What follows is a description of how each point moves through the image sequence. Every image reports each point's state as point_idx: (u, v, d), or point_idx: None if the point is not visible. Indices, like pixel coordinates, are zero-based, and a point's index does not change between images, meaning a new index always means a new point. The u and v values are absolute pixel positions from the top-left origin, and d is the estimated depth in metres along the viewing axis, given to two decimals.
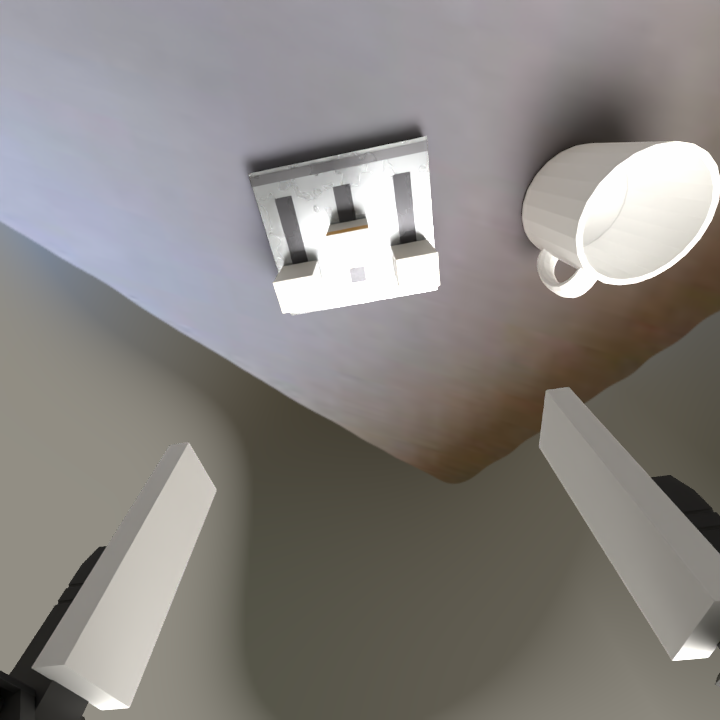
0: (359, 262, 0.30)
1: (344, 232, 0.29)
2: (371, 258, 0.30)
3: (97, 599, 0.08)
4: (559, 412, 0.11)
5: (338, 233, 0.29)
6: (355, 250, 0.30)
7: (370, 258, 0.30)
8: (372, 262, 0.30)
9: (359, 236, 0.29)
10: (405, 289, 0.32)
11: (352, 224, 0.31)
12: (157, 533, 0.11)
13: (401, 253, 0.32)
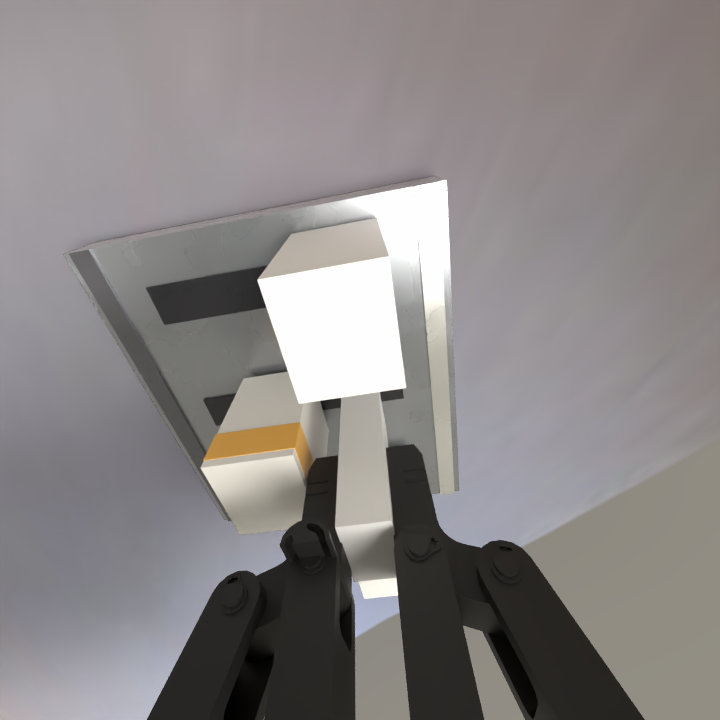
0: (293, 483, 0.11)
1: None
2: (278, 460, 0.11)
3: (358, 484, 0.10)
4: (360, 396, 0.14)
5: None
6: (263, 490, 0.12)
7: (277, 461, 0.11)
8: (289, 459, 0.11)
9: (226, 483, 0.11)
10: (397, 373, 0.09)
11: None
12: None
13: None
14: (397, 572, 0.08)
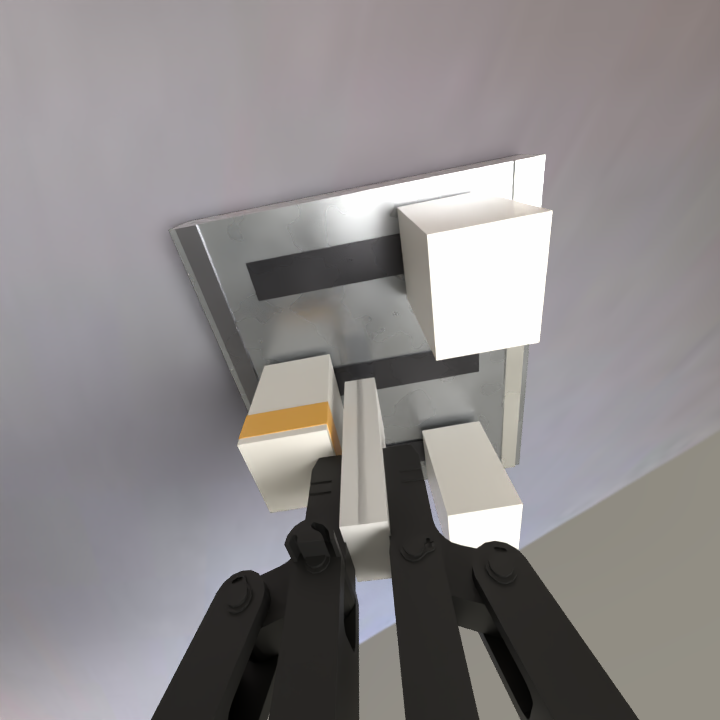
0: None
1: None
2: (312, 435, 0.12)
3: (362, 484, 0.10)
4: (357, 397, 0.14)
5: None
6: (296, 466, 0.12)
7: (311, 437, 0.12)
8: (322, 434, 0.11)
9: (260, 460, 0.12)
10: (534, 327, 0.10)
11: None
12: None
13: (422, 316, 0.11)
14: (392, 573, 0.08)
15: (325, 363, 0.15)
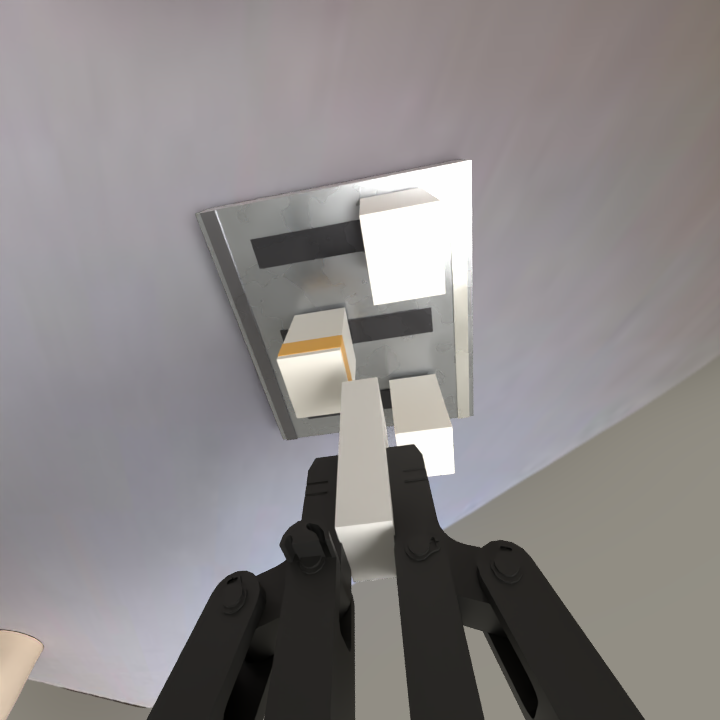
0: (338, 374, 0.17)
1: None
2: (329, 354, 0.16)
3: (358, 484, 0.10)
4: (360, 396, 0.14)
5: None
6: (317, 379, 0.17)
7: (329, 355, 0.16)
8: (337, 353, 0.16)
9: (292, 373, 0.17)
10: (440, 282, 0.14)
11: None
12: None
13: None
14: (397, 572, 0.08)
15: (341, 313, 0.20)
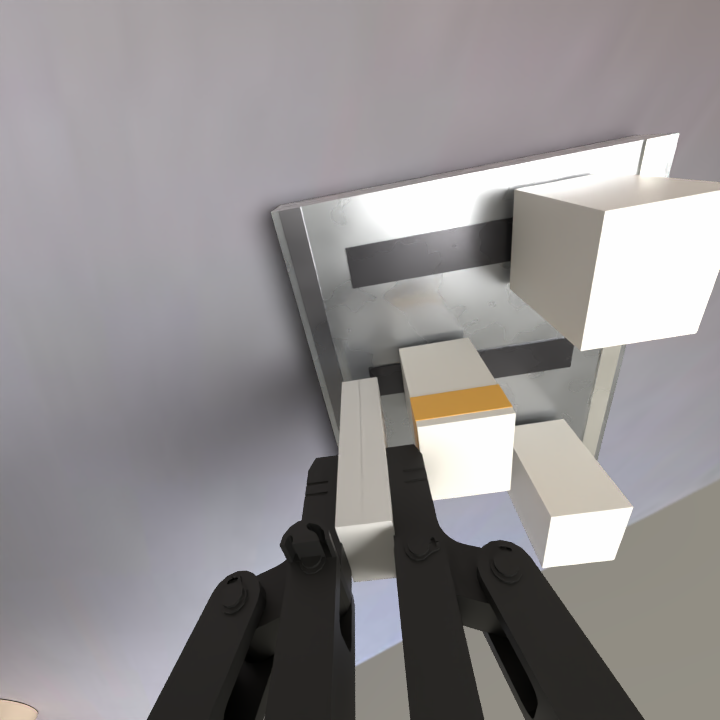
0: (502, 445, 0.11)
1: None
2: (498, 419, 0.11)
3: (358, 484, 0.10)
4: (360, 396, 0.14)
5: None
6: (470, 452, 0.11)
7: (497, 420, 0.11)
8: (510, 417, 0.11)
9: (435, 444, 0.11)
10: (695, 316, 0.09)
11: (408, 401, 0.14)
12: None
13: (552, 304, 0.11)
14: (397, 572, 0.08)
15: (470, 346, 0.14)
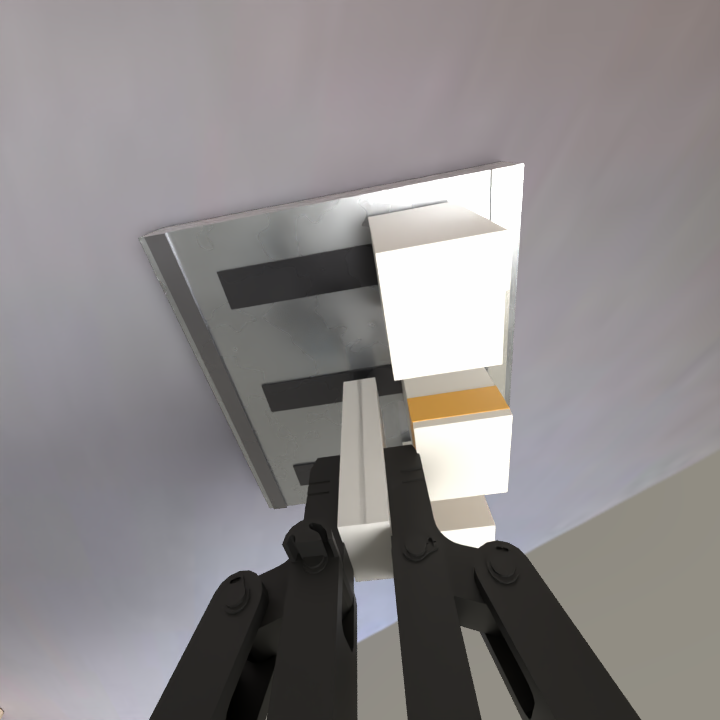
0: (499, 446, 0.11)
1: None
2: (495, 420, 0.11)
3: (360, 484, 0.10)
4: (358, 397, 0.14)
5: None
6: (467, 453, 0.11)
7: (494, 422, 0.11)
8: (507, 419, 0.11)
9: (432, 445, 0.11)
10: (496, 349, 0.09)
11: (405, 402, 0.14)
12: None
13: (386, 332, 0.11)
14: (394, 572, 0.08)
15: None
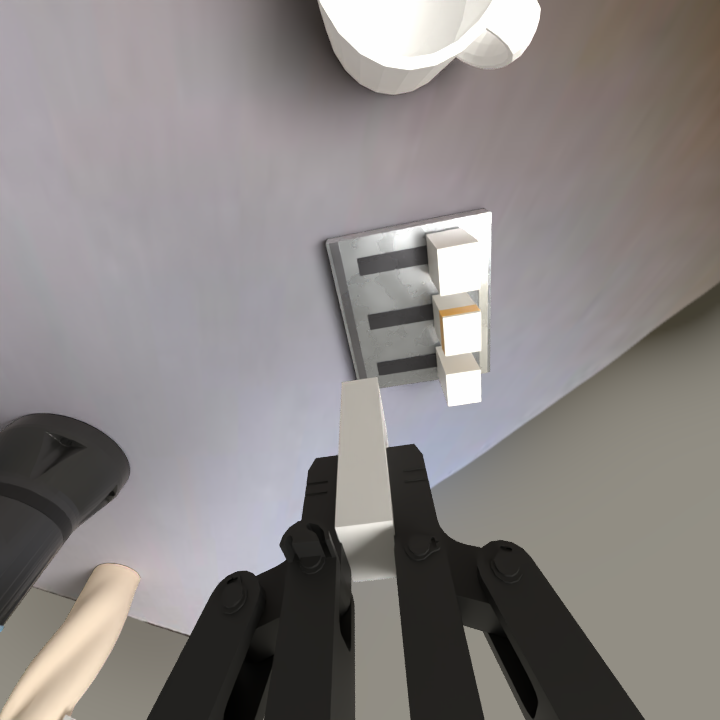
0: (476, 326, 0.28)
1: (444, 339, 0.29)
2: (474, 314, 0.28)
3: (358, 484, 0.10)
4: (360, 396, 0.14)
5: (444, 344, 0.29)
6: (463, 330, 0.28)
7: (474, 315, 0.28)
8: (479, 313, 0.28)
9: (449, 326, 0.28)
10: (477, 283, 0.26)
11: (436, 317, 0.31)
12: None
13: (435, 280, 0.28)
14: (397, 572, 0.08)
15: (465, 293, 0.31)
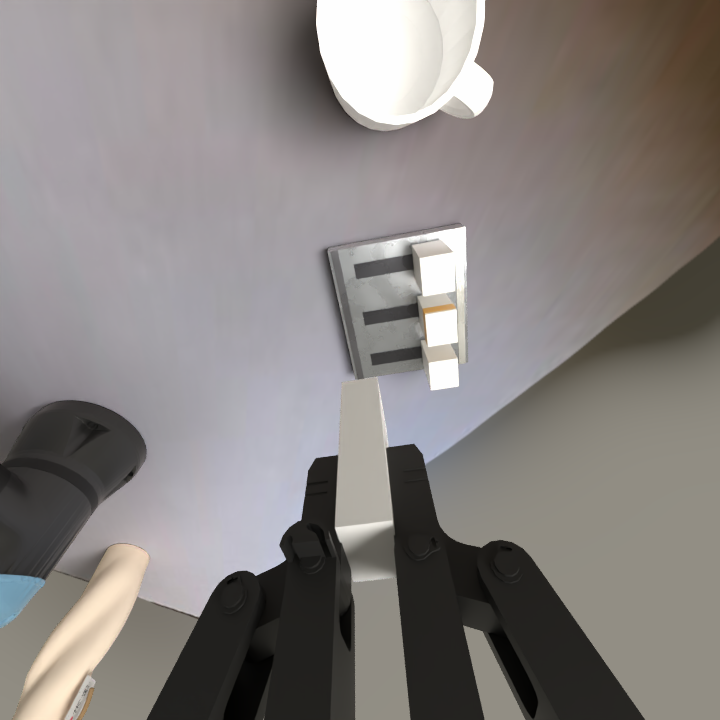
0: (453, 322, 0.34)
1: (426, 332, 0.35)
2: (451, 311, 0.34)
3: (358, 484, 0.10)
4: (360, 396, 0.14)
5: (426, 336, 0.35)
6: (442, 325, 0.34)
7: (450, 312, 0.34)
8: (455, 311, 0.33)
9: (431, 321, 0.34)
10: (453, 286, 0.32)
11: (421, 314, 0.37)
12: None
13: (419, 283, 0.34)
14: (397, 572, 0.08)
15: (445, 294, 0.37)
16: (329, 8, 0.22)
